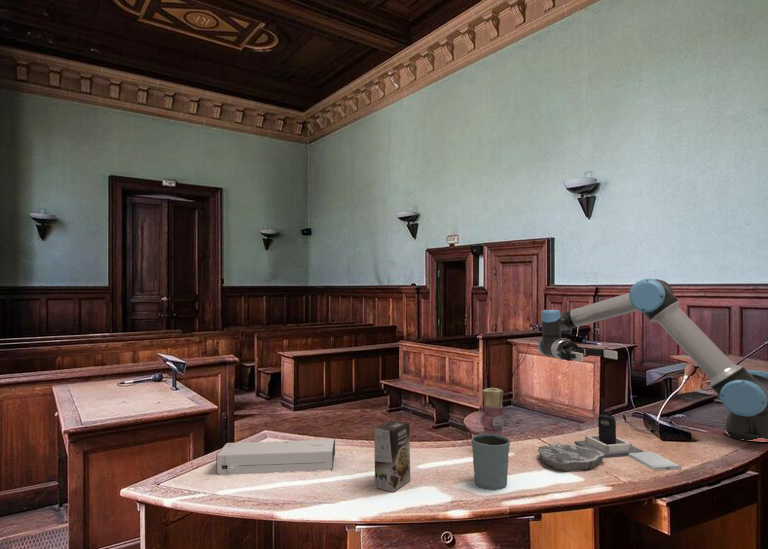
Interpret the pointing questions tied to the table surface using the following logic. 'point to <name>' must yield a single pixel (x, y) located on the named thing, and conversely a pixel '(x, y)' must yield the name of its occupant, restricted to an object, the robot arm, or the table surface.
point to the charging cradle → (609, 446)
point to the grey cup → (490, 460)
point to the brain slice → (570, 457)
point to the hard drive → (654, 461)
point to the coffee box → (392, 455)
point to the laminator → (275, 457)
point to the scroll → (492, 411)
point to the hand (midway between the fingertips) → (599, 356)
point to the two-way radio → (606, 427)
